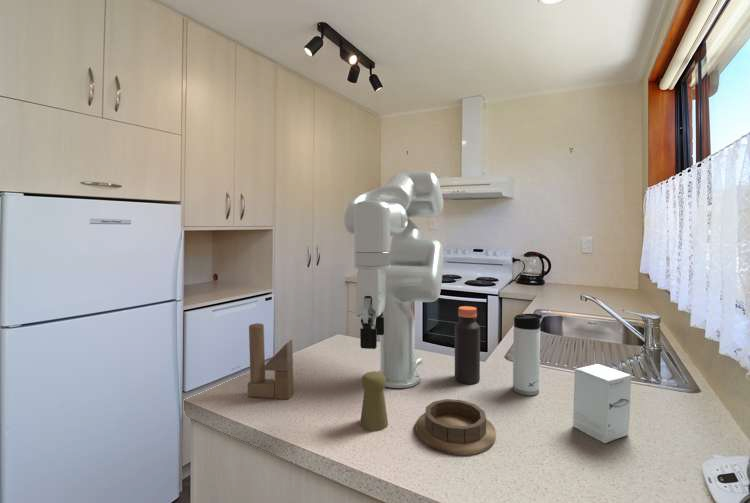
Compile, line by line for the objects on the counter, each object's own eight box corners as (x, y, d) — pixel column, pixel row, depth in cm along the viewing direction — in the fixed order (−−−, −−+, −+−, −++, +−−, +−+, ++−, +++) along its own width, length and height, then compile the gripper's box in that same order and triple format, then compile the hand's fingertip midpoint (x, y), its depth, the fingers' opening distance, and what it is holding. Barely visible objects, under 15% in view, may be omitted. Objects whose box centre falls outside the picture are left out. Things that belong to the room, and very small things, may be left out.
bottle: (449, 379, 103) (450, 308, 102) (462, 372, 108) (462, 304, 107) (472, 386, 98) (472, 311, 97) (484, 379, 103) (485, 307, 102)
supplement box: (605, 445, 72) (607, 380, 71) (571, 426, 79) (573, 367, 78) (630, 436, 75) (632, 374, 74) (595, 419, 82) (597, 362, 81)
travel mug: (538, 398, 92) (539, 317, 90) (510, 392, 95) (511, 314, 94) (542, 389, 97) (543, 312, 96) (515, 383, 100) (516, 309, 99)
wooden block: (288, 400, 92) (286, 328, 91) (247, 397, 93) (245, 326, 92) (293, 393, 95) (292, 324, 94) (254, 391, 97) (252, 322, 96)
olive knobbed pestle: (392, 420, 82) (392, 370, 81) (381, 433, 76) (380, 381, 76) (367, 414, 84) (367, 366, 84) (355, 427, 79) (354, 376, 78)
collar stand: (440, 405, 88) (440, 389, 88) (507, 428, 78) (508, 409, 78) (400, 434, 76) (400, 415, 76) (474, 466, 66) (474, 444, 65)
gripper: (363, 257, 87) (363, 329, 88) (344, 264, 70) (345, 353, 71) (395, 257, 86) (395, 330, 87) (383, 264, 69) (384, 355, 70)
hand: (373, 341), depth 79 cm, fingers open, 9 cm apart
